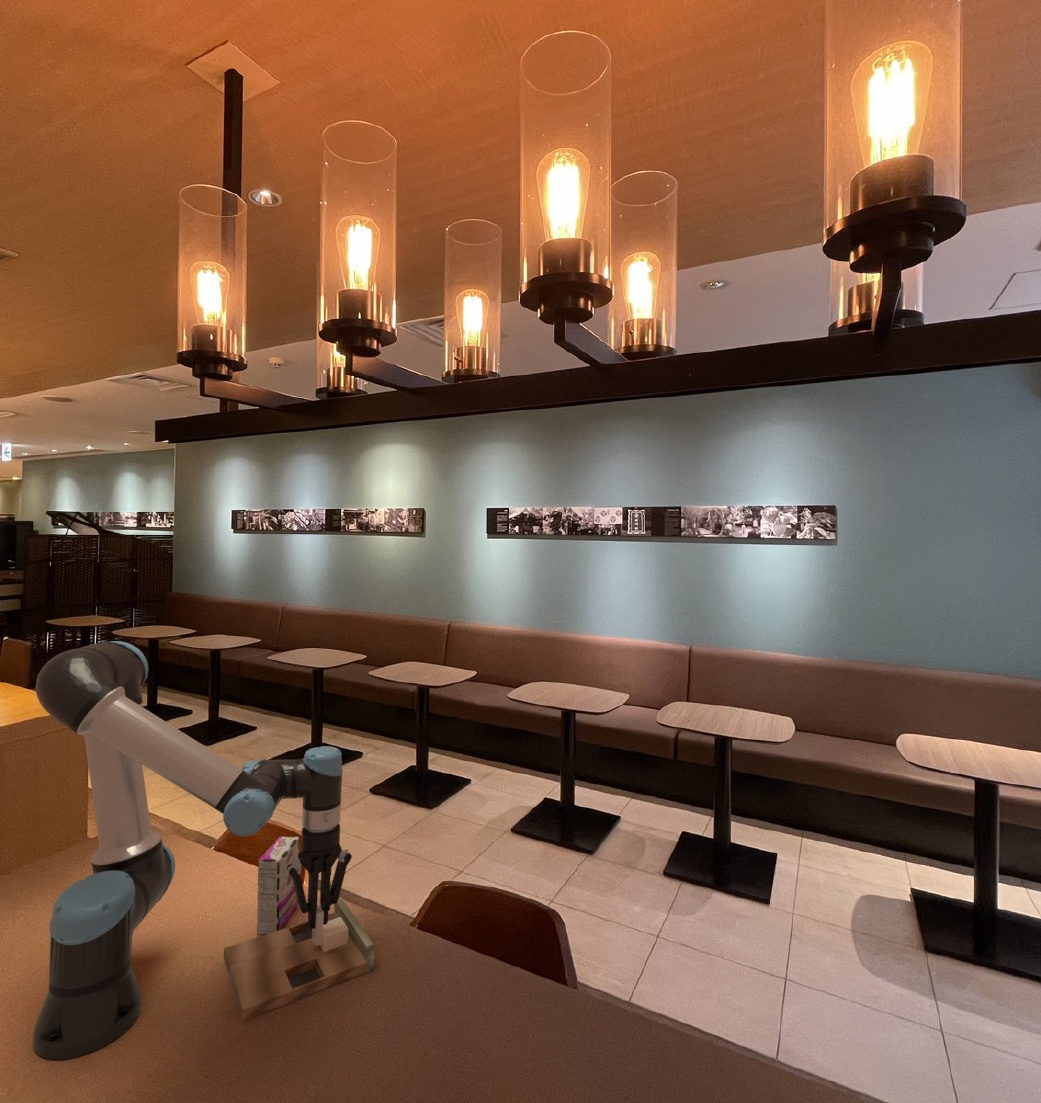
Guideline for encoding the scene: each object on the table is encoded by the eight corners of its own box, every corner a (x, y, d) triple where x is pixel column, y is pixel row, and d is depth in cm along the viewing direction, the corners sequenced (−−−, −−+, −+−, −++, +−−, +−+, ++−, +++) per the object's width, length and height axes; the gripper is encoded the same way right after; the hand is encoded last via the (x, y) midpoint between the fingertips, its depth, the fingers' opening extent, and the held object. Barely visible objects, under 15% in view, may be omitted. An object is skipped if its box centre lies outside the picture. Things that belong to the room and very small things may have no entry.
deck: (242, 1021, 103) (243, 992, 104) (223, 958, 120) (224, 933, 120) (373, 969, 117) (374, 944, 117) (340, 919, 134) (341, 897, 134)
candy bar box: (277, 906, 138) (279, 835, 139) (298, 906, 138) (300, 836, 139) (254, 936, 127) (257, 859, 127) (277, 936, 127) (280, 860, 127)
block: (323, 952, 119) (324, 937, 119) (316, 939, 123) (316, 924, 123) (347, 943, 122) (348, 929, 122) (340, 931, 126) (340, 917, 126)
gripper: (293, 840, 115) (289, 963, 114) (358, 824, 122) (354, 940, 121) (283, 825, 121) (279, 942, 120) (346, 812, 128) (342, 922, 128)
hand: (317, 941), depth 121 cm, fingers closed
